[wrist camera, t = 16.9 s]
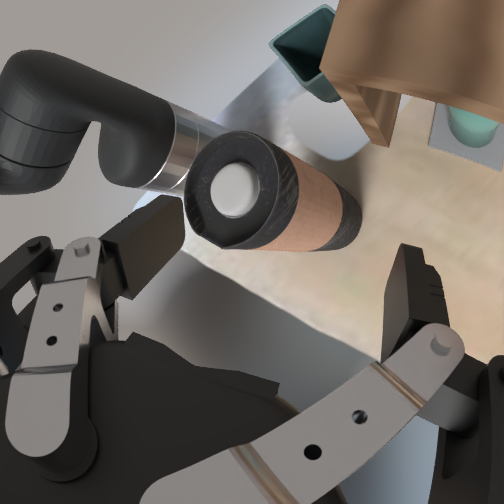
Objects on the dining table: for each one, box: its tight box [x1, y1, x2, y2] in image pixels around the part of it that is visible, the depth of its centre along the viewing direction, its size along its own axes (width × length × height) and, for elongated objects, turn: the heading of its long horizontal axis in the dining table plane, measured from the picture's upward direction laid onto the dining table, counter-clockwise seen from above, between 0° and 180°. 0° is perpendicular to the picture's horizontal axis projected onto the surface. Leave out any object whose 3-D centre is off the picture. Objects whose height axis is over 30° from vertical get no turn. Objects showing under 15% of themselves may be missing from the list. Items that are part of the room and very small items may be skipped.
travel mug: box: [184, 131, 362, 252], centre depth 27 cm, size 8×8×20 cm
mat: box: [428, 102, 504, 172], centre depth 26 cm, size 9×9×1 cm
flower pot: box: [269, 4, 342, 103], centre depth 31 cm, size 9×9×9 cm
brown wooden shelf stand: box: [319, 0, 504, 148], centre depth 19 cm, size 20×12×17 cm, turn 71°
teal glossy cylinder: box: [447, 105, 500, 148], centre depth 21 cm, size 6×6×11 cm
